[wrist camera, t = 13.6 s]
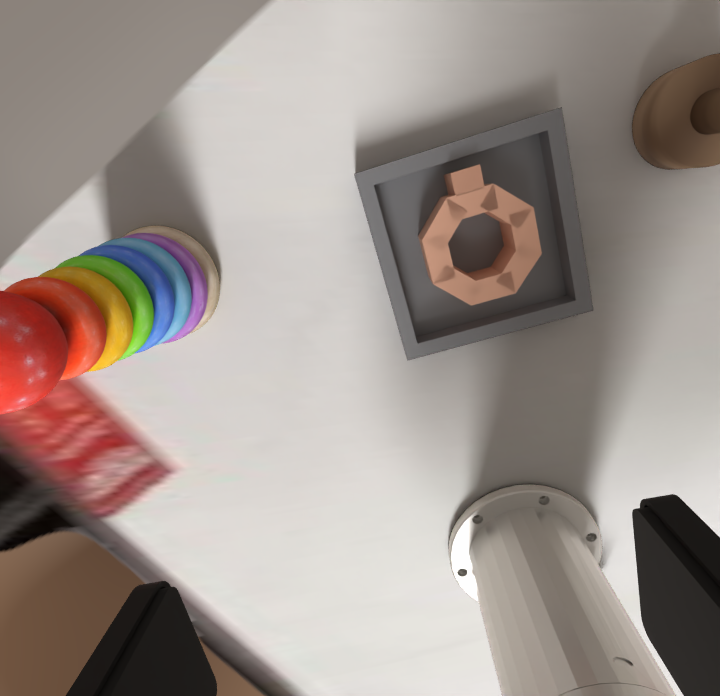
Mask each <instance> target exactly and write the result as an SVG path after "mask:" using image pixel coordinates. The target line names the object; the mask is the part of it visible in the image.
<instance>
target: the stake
mask: <svg viewBox="0 0 720 696" xmlns="http://www.w3.org/2000/svg"><path fill="white" fill-rule="evenodd" d="M632 133H633V140H634V143H635V146H636V148H637V150H638V152H639V153H640V155H641V156H642V157H643V158H644V159H645V160H646V161H647V162H648V163H650V164H652V165H653V166H656V167H658V168H662V169H669V170H670V169H687V168H700V167H709V166H714V165H717V164H720V53H719V54H713V55H709V56H706V57H703V58H701V59H699V60H696V61H694V62H691V63H689V64H686V65H684V66H681V67H679V68H676V69H674V70H672V71H670V72H667V73H665V74H664V75H662V76H661V77H659V78H658V79H657V80H656V81H654V82H653V83H652V84H651V85H650V86H649V87H648V89H647V90H646V91H645V92H644V94H643V95H642V97H641V99H640V101H639V103H638V104H637V107H636V110H635V113H634V117H633V123H632Z"/></svg>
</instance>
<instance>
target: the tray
mask: <svg viewBox="0 0 720 696" xmlns="http://www.w3.org/2000/svg"><path fill="white" fill-rule="evenodd" d="M479 164H480V167H481V172H482V176H483V181H484V184H495V185H497V186H498V187H500V188H502V189H503V190H505V191H507V192H509V193H510V194H512V195H514V196H515V197H517V198H519V199H520V200H522V201H524V202H525V203H527V204H529V205H530V206H532V207H534V212H535V218H536V224H537V229H538V235H539V240H540V246H541V251H542V254H541V256H540V257H539V259H538V260H537V262H536V263H535V265H534V266H533V268H532V269H531V271H530V272H529V274H528V275H527V277H526V278H525V280H524V281H523V283H522V284H521V286H520V287H519V289H518V290H517V292H516V293H515V294H511V295H508V296H504V297H500V298H497V299H493V300H490V301H486V302H482V303H479V304H475V305H470V304H468V303H466V302H464V301H462V300H461V299H459V298H457V297H455V296H453V295H452V294H450V293H448V292H446V291H444V290H443V289H441V288H439V287H437V286H435V285H434V284H433V283H432V282H431V280H430V278H429V277H428V273H427V269H426V265H425V261H424V257H423V253H422V249H421V246H420V242H419V238H418V235H419V234H420V232H421V230H422V228H423V227H424V225H425V223H426V221H427V220H428V218H429V216H430V214H431V213H432V211H433V209H434V207H435V206H436V204H437V202H438V200H439V199H440V197H443V196H446V195H448V192H447V187H446V183H445V178H444V175H445V174H449V173H452V172H455V171H458V170H461V169H465V168H468V167H471V166H475V165H479ZM354 175H355V179H356V182H357V186H358V189H359V193H360V196H361V200H362V203H363V207H364V210H365V214H366V217H367V221H368V224H369V228H370V231H371V235H372V238H373V242H374V245H375V249H376V252H377V256H378V259H379V263H380V266H381V270H382V273H383V277H384V280H385V284H386V287H387V291H388V294H389V298H390V301H391V305H392V308H393V311H394V315H395V318H396V322H397V325H398V329H399V332H400V336H401V339H402V343H403V346H404V350H405V353H406V357H407V360H411V359H415V358H418V357H422V356H426V355H430V354H433V353H437V352H441V351H444V350H448V349H452V348H455V347H459V346H463V345H467V344H470V343H474V342H478V341H481V340H485V339H489V338H493V337H496V336H500V335H504V334H507V333H511V332H515V331H519V330H522V329H526V328H530V327H533V326H537V325H541V324H544V323H548V322H552V321H556V320H559V319H563V318H567V317H570V316H574V315H578V314H582V313H585V312H589V311H593V305H592V298H591V292H590V286H589V279H588V273H587V266H586V260H585V254H584V247H583V241H582V234H581V228H580V222H579V215H578V209H577V202H576V196H575V190H574V183H573V177H572V170H571V164H570V158H569V151H568V145H567V138H566V132H565V126H564V119H563V113H562V107H561V108H558V109H555V110H551V111H548V112H545V113H542V114H539V115H536V116H533V117H530V118H527V119H523V120H520V121H517V122H514V123H511V124H508V125H505V126H502V127H499V128H495V129H492V130H489V131H486V132H483V133H480V134H477V135H474V136H471V137H467V138H464V139H461V140H458V141H455V142H452V143H449V144H446V145H443V146H439V147H436V148H433V149H430V150H427V151H424V152H421V153H418V154H415V155H412V156H408V157H405V158H402V159H399V160H396V161H393V162H390V163H387V164H384V165H380V166H377V167H374V168H371V169H368V170H365V171H362V172H359V173H356V174H354ZM448 246H449V250H450V255H451V259H452V263H453V266H455V267H457V268H459V269H461V270H462V271H464V272H466V273H470V272H474V271H477V270H481V269H484V268H488V267H491V265H492V264H493V262H494V261H495V259H496V257H497V256H498V254H499V253H500V251H501V250H502V248H503V246H504V243H503V238H502V233H501V228H500V223H499V221H497V220H495V219H494V218H492V217H490V216H489V215H487V214H485V213H481V214H478V215H475V216H471V217H468V218H465V219H462V220H461V222H460V223H459V225H458V227H457V229H456V230H455V232H454V234H453V235H452V237H451V239H450V240H449V242H448Z"/></svg>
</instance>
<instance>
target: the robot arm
mask: <svg viewBox="0 0 720 696" xmlns="http://www.w3.org/2000/svg"><path fill="white" fill-rule="evenodd" d="M632 517H633V528H634V539H635V551H636V562H637V573H638V585H639V596H640V607H641V617H642V622H643V626H644V628H645V631H646V633H647V636H648V638H649V639H650V641H651V643H652V644H653V646H654V648H655V649H656V651H657V653H658V654H659V656H660V658H661V659H662V661H663V662H664V664H665V666H666V667H667V669H668V671H669V672H670V674H671V675H672V677H673V679H674V680H675V682H676V684H677V685H678V687H679V689H680V690H681V692H682V693H683V695H684V696H720V537H719V536H718V535H717V534H716V533H715V532H714V531H713V530H712V529H711V528H710V527H709V526H708V525H707V524H706V523H705V522H704V521H703V520H702V519H701V518H700V517H699V516H697V515H696V514H695V513H694V512H693V511H692V510H691V509H690V508H689V507H688V506H687V505H686V504H685V503H684V502H683V501H682V500H681V499H680V498H679V497H678V496H677V495H673V494H671V495H666V496H660V497H654V498H648V499H643V500H641V503H640V508H638V509H634V510H633V512H632ZM601 554H602V539H601V534H600V531H599V528H598V526H597V524H596V522H595V521H594V519H593V517H592V516H591V514H590V513H589V512H588V510H587V509H586V508H585V507H584V505H583V504H582V503H580V502H579V501H578V500H577V499H575V498H574V497H573V496H571V495H569V494H567V493H565V492H563V491H561V490H558V489H555V488H551V487H548V486H542V485H533V484H530V485H515V486H511V487H506V488H502V489H499V490H497V491H494V492H491V493H489V494H487V495H485V496H484V497H482V498H480V499H479V500H477V501H476V502H474V503H473V504H472V505H471V506H470V507H469V508H467V509H466V510H465V512H464V513H463V514H462V515H461V516H460V518H459V519H458V520H457V522H456V524H455V526H454V528H453V530H452V533H451V537H450V540H449V558H450V564H451V568H452V572H453V575H454V577H455V579H456V580H457V582H458V584H459V585H460V587H461V588H462V589H463V590H464V591H465V592H466V593H467V594H468V595H469V596H470V597H472V598H473V599H475V600H476V601H477V602H479V605H480V609H481V613H482V617H483V621H484V625H485V629H486V633H487V637H488V641H489V645H490V649H491V653H492V657H493V661H494V665H495V669H496V673H497V677H498V681H499V685H500V689H501V693H502V696H676V695H675V693H674V691H673V689H672V688H671V686H670V684H669V683H668V681H667V679H666V678H665V676H664V674H663V673H662V671H661V669H660V668H659V666H658V664H657V663H656V661H655V659H654V658H653V656H652V654H651V653H650V651H649V649H648V648H647V646H646V644H645V642H644V641H643V639H642V637H641V636H640V634H639V632H638V631H637V629H636V627H635V626H634V624H633V622H632V621H631V619H630V617H629V616H628V614H627V612H626V611H625V609H624V607H623V606H622V604H621V602H620V600H619V599H618V597H617V595H616V594H615V592H614V590H613V589H612V587H611V585H610V584H609V582H608V580H607V579H606V577H605V575H604V574H603V572H602V570H601V569H600V567H599V563H600V560H601ZM216 694H217V683H216V679H215V676H214V674H213V672H212V669H211V667H210V665H209V662H208V660H207V658H206V655H205V653H204V651H203V648H202V646H201V644H200V641H199V639H198V636H197V634H196V632H195V629H194V627H193V625H192V622H191V620H190V618H189V615H188V613H187V611H186V608H185V606H184V604H183V601H182V599H181V597H180V594H179V592H178V590H177V589H176V588H175V587H171V586H170V584H169V583H167V582H166V581H160V582H155V583H149V584H143V585H139V586H137V587H135V589H134V590H133V591H132V592H131V594H130V596H129V597H128V599H127V600H126V602H125V603H124V605H123V606H122V608H121V610H120V611H119V613H118V614H117V616H116V618H115V619H114V621H113V622H112V624H111V625H110V627H109V628H108V630H107V632H106V633H105V635H104V636H103V638H102V639H101V641H100V643H99V644H98V646H97V647H96V649H95V651H94V652H93V654H92V655H91V657H90V659H89V660H88V662H87V663H86V665H85V666H84V668H83V669H82V671H81V673H80V674H79V676H78V678H77V679H76V681H75V682H74V684H73V685H72V687H71V688H70V690H69V691H68V693H67V695H66V696H216Z"/></svg>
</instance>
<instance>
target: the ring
mask: <svg viewBox="0 0 720 696" xmlns="http://www.w3.org/2000/svg"><path fill="white" fill-rule="evenodd" d="M444 178H445V183H446V187H447V192H448V195H446V196H443V197H440V199H439V200H438V202H437V204H436V206H435V207H434V209H433V211H432V213H431V214H430V216H429V218H428V220H427V221H426V223H425V225H424V227H423V228H422V230H421V232H420V234H419V235H418V238H419V242H420V246H421V249H422V253H423V257H424V261H425V265H426V269H427V273H428V277H429V278H430V280H431V282H432V283H433V284H434V285H435V286H437V287H439V288H441V289H443V290H444V291H446V292H448V293H450V294H452V295H453V296H455V297H457V298H459V299H461V300H462V301H464V302H466V303H468V304H470V305H475V304H479V303H482V302H486V301H490V300H493V299H497V298H500V297H504V296H508V295H511V294H515V293H516V292H517V290H518V289H519V287H520V286H521V284H522V283H523V281H524V280H525V278H526V277H527V275H528V274H529V272H530V271H531V269H532V268H533V266H534V265H535V263H536V262H537V260H538V259H539V257H540V256H541V254H542V251H541V246H540V240H539V235H538V229H537V224H536V218H535V212H534V207H532V206H530V205H529V204H527V203H525V202H524V201H522V200H520V199H519V198H517V197H515V196H514V195H512V194H510V193H509V192H507V191H505V190H503V189H502V188H500V187H498V186H497V185H495V184H484V181H483V176H482V172H481V167H480V164H479V165H475V166H471V167H468V168H465V169H461V170H458V171H455V172H452V173H449V174H445V175H444ZM481 213H485V214H487V215H489V216H490V217H492V218H494V219H495V220H497V221H499V223H500V228H501V233H502V238H503V243H504V246H503V248H502V250H501V251H500V253H499V254H498V256H497V257H496V259H495V261H494V262H493V264H492V265H491V267H488V268H484V269H481V270H477V271H474V272H470V273H466V272H464V271H462V270H461V269H459V268H457V267H455V266H453V263H452V259H451V255H450V250H449V246H448V242H449V240H450V239H451V237H452V235H453V234H454V232H455V230H456V229H457V227H458V225H459V223H460V222H461V220H462V219H465V218H468V217H471V216H475V215H478V214H481Z"/></svg>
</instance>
